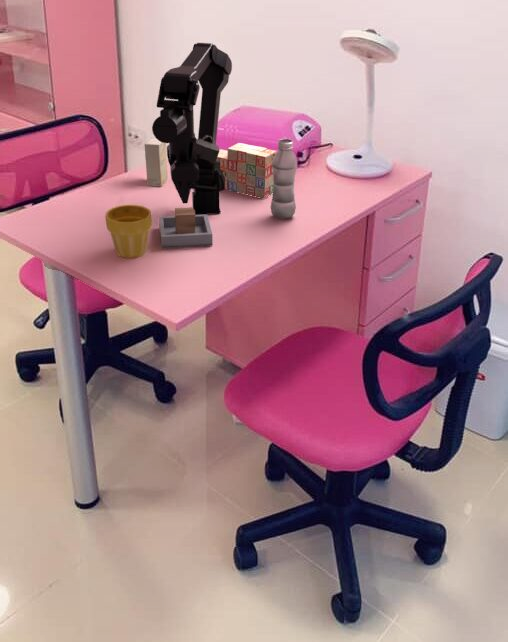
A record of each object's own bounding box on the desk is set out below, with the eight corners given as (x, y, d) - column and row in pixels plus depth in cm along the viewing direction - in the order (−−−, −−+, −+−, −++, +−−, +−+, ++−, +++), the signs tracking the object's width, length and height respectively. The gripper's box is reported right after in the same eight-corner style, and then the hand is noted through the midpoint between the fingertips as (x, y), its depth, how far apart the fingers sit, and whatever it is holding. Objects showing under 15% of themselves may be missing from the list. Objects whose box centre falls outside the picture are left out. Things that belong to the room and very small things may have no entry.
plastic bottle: (299, 214, 189) (302, 139, 179) (289, 223, 184) (292, 146, 174) (276, 210, 192) (279, 135, 181) (266, 219, 186) (268, 142, 176)
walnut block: (175, 231, 178) (174, 208, 175) (193, 230, 178) (193, 207, 175) (176, 238, 174) (175, 215, 171) (195, 237, 174) (194, 214, 171)
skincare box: (161, 187, 205) (159, 145, 198) (146, 185, 205) (143, 143, 199) (168, 179, 210) (166, 138, 204) (153, 178, 211) (151, 137, 204)
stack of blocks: (200, 184, 207) (199, 142, 201) (213, 178, 212) (212, 136, 206) (264, 199, 198) (265, 156, 192) (276, 193, 203) (277, 150, 196)
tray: (207, 225, 182) (207, 214, 181) (212, 245, 172) (212, 234, 171) (159, 227, 181) (158, 216, 179) (161, 248, 170) (161, 236, 169)
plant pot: (157, 259, 166) (154, 219, 161) (111, 264, 163) (107, 224, 158) (149, 240, 174) (147, 202, 169) (106, 245, 172) (102, 206, 166)
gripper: (221, 141, 156) (222, 209, 164) (212, 118, 172) (213, 180, 180) (170, 143, 154) (173, 211, 162) (165, 119, 170) (168, 182, 178)
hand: (183, 195), depth 171 cm, fingers open, 9 cm apart
